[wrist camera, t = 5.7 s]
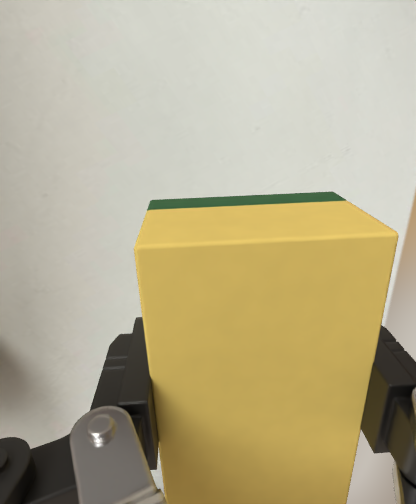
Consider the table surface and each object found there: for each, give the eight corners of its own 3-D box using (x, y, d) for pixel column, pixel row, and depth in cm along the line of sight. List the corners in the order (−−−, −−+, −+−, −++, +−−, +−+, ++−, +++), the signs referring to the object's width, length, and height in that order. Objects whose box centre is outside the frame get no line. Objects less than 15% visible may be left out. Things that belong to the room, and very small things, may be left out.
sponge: (309, 412, 14) (346, 506, 11) (172, 421, 14) (167, 522, 11) (334, 190, 11) (401, 232, 7) (149, 199, 10) (132, 245, 7)
